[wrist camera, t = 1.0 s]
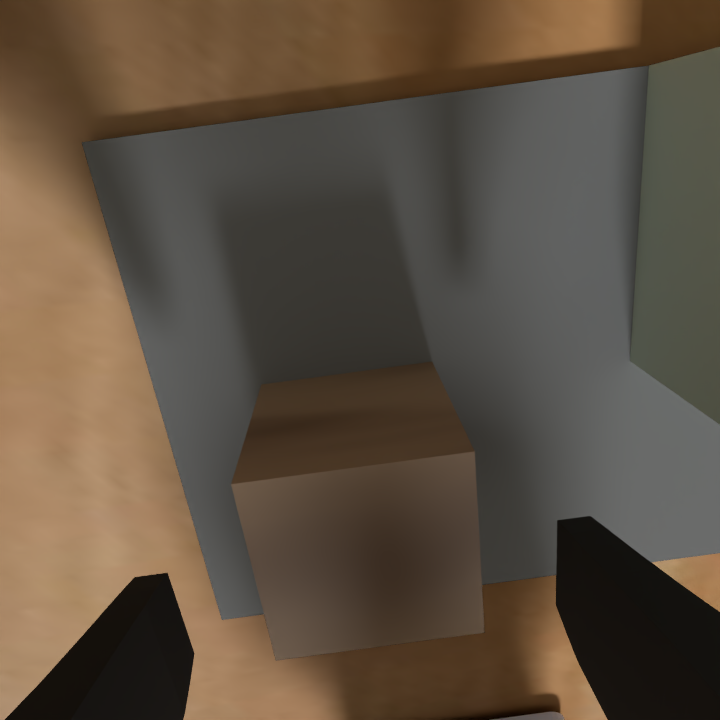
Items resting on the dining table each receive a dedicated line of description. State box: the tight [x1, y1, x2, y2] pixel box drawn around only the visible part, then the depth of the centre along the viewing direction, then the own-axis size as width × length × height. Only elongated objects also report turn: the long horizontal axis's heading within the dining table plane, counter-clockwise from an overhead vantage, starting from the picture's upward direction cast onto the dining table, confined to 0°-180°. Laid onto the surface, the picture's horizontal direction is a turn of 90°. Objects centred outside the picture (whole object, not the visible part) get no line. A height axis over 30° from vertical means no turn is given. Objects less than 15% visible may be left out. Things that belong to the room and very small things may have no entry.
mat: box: [82, 66, 720, 620], centre depth 14 cm, size 14×22×1 cm, turn 97°
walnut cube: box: [231, 362, 485, 661], centre depth 13 cm, size 4×4×4 cm
